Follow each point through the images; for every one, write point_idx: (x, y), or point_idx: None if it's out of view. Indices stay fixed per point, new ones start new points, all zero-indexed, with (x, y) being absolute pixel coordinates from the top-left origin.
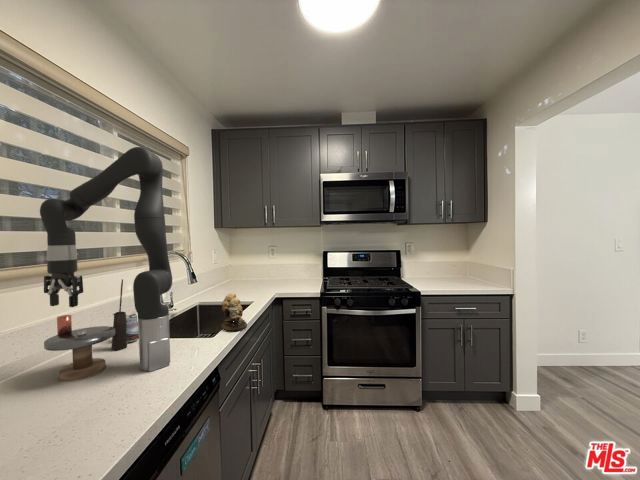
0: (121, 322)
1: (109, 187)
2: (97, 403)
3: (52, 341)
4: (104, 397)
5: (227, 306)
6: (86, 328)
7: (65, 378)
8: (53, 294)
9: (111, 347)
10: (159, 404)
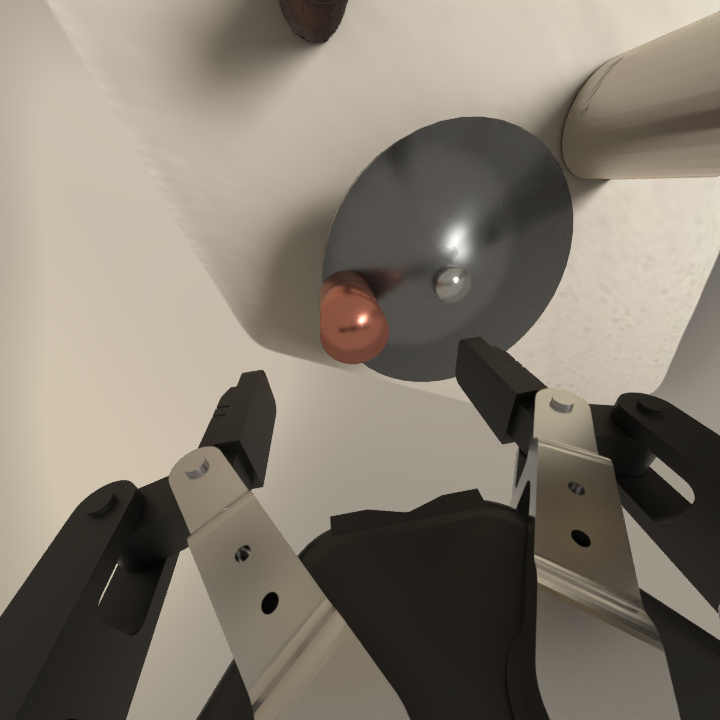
0: None
1: None
2: (561, 324)
3: (404, 360)
4: (561, 308)
5: None
6: (362, 200)
7: None
8: (247, 479)
9: (301, 29)
10: (685, 287)
